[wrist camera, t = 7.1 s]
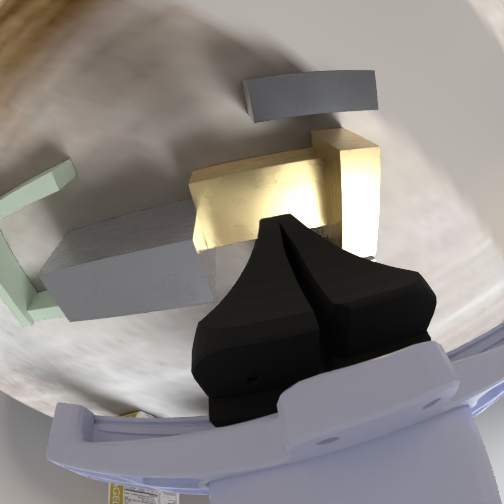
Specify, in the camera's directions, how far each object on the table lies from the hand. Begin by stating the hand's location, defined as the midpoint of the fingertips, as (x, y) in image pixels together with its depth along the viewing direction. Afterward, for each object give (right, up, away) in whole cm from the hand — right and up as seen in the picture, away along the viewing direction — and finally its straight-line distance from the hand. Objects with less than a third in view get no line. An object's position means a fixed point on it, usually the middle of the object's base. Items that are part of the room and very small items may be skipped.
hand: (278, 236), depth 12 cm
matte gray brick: (-9, 0, +6) cm, 11 cm away
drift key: (0, +3, +5) cm, 6 cm away
